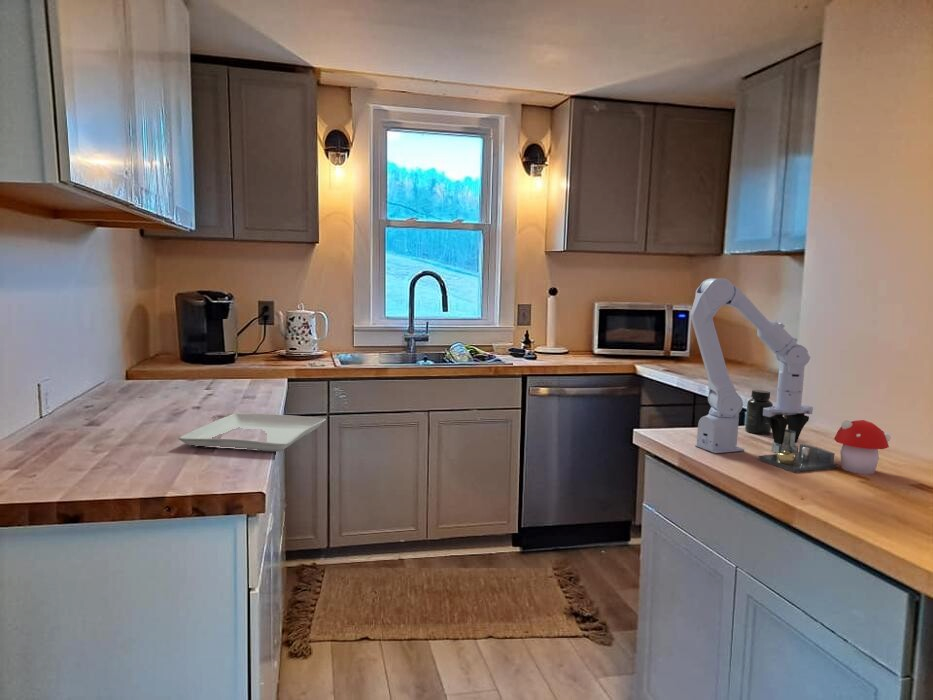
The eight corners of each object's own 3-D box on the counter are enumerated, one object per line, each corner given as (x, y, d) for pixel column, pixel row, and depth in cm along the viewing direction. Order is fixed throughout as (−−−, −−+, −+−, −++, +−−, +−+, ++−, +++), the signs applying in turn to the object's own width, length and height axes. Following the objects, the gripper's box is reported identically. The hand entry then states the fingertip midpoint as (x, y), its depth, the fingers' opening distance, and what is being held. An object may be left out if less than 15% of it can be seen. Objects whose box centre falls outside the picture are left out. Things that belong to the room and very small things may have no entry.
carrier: (794, 472, 144) (795, 455, 143) (758, 459, 154) (759, 443, 153) (837, 467, 148) (838, 451, 148) (799, 455, 158) (801, 440, 158)
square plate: (233, 425, 177) (233, 411, 176) (327, 430, 173) (327, 417, 173) (176, 451, 150) (176, 435, 150) (285, 458, 146) (285, 442, 146)
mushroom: (878, 466, 151) (883, 417, 149) (892, 480, 140) (898, 427, 139) (828, 461, 154) (832, 413, 153) (838, 474, 144) (843, 422, 142)
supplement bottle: (773, 435, 179) (777, 394, 178) (747, 433, 180) (751, 392, 179) (767, 430, 186) (770, 390, 184) (742, 428, 187) (745, 388, 186)
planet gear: (785, 455, 158) (786, 434, 157) (766, 449, 164) (768, 428, 163) (803, 454, 160) (805, 432, 159) (784, 447, 166) (785, 427, 165)
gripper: (780, 394, 154) (776, 448, 155) (824, 392, 159) (819, 444, 160) (758, 389, 160) (754, 441, 162) (801, 387, 165) (796, 437, 167)
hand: (785, 442), depth 161 cm, fingers closed on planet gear, 4 cm apart
